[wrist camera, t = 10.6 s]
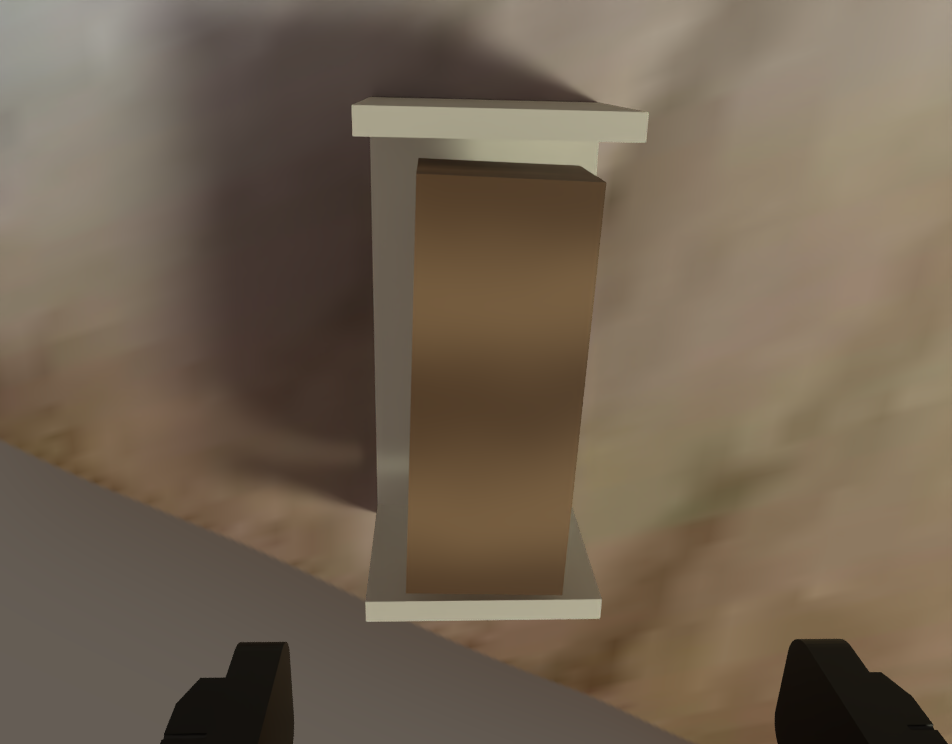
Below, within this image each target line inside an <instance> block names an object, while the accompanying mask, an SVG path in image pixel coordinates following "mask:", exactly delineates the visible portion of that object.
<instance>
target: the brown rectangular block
mask: <svg viewBox="0 0 952 744" xmlns="http://www.w3.org/2000/svg"><path fill="white" fill-rule="evenodd" d="M605 190H606V182H605V181H603V180H602V179H600V178H599V177H597V176H595V175H594V174H592V173H591V172H589V171H588V170H586V169H584V168H583V167H581V166H578V165H557V164H536V163H515V162H494V161H473V160H452V159H431V158H418V165H417V172H416V202H415V243H414V284H413V325H412V365H411V406H410V447H409V488H408V529H407V570H406V593H409V594H499V595H562V593H563V584H564V574H565V565H566V556H567V546H568V537H569V528H570V518H571V509H572V499H573V490H574V481H575V471H576V462H577V452H578V443H579V434H580V424H581V415H582V406H583V396H584V387H585V377H586V368H587V359H588V349H589V340H590V330H591V321H592V312H593V302H594V293H595V284H596V274H597V265H598V255H599V246H600V237H601V227H602V218H603V208H604V199H605Z"/></svg>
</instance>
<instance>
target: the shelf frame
mask: <svg viewBox="0 0 952 744" xmlns="http://www.w3.org/2000/svg"><path fill="white" fill-rule="evenodd" d="M648 117H649V112H645V111H640V110H635V109H630V108H624V107H619V106H614V105H609V104H603V103H597V102H557V101H517V100H477V99H438V98H398V97H369V98H367V99H364V100H362V101H360V102H357V103H355V104H353V105H352V136H361V137H370V161H371V210H372V258H373V307H374V355H375V404H376V452H377V500H378V505H377V514H376V522H375V530H374V538H373V546H372V554H371V562H370V570H369V578H368V586H367V594H366V622H370V621H371V622H376V621H457V620H537V619H600V613H601V602H602V598H601V595H600V592H599V589H598V586H597V583H596V580H595V577H594V573H593V570H592V567H591V564H590V561H589V558H588V555H587V552H586V549H585V546H584V542H583V539H582V536H581V533H580V530H579V527H578V524H577V521H576V518H575V514H574V511H573V508H572V509H571V518H570V528H569V537H568V546H567V556H566V565H565V574H564V584H563V593H562V595H499V594H409V593H406V570H407V529H408V488H409V447H410V406H411V365H412V325H413V284H414V243H415V202H416V172H417V165H418V158H431V159H452V160H473V161H494V162H515V163H536V164H557V165H578V166H581V167H583V168H584V169H586V170H588V171H589V172H591V173H592V174H594V175H595V176H596V173H597V160H598V147H599V142H631V143H646V138H647V127H648Z"/></svg>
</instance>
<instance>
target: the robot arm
mask: <svg viewBox="0 0 952 744" xmlns="http://www.w3.org/2000/svg"><path fill="white" fill-rule="evenodd" d="M291 682H292V681H291V667H290V652H289V646H288V643H287V642H240V643H239V644H238V645H237V647H236V649H235V651H234V654H233V657H232V660H231V664H230V666H229V669H228V673H227V675H226V678H200V679H199V680H198V681H197V682H196V683H195V684H194V685H193V686H192V688H191V689H190V690H189V691H188V692H187V693H186V694H185V695H184V696H183V697H182V698H181V699H180V700H179V701H178V702H177V703H176V705H175V708H174V711H173V713H172V716H171V718H170V720H169V723H168V725H167V728H166V730H165V733H164V739H163V740H161V743H160V744H293V737H294V711H293V698H292V697H293V696H292V683H291ZM775 732H776V738H777V743H778V744H948V743H947V742H946V741H945V740H944V738H943V737H942V736H941V734H940V733H939V732H938V730H934V728H933V724H932V722H931V721H930V720H929V718H928V717H927V716H926V714H925V713H924V712H923V710H922V709H921V708H920V706H919V705H918V704H917V702H916V701H915V700H914V698H913V697H912V696H911V695H910V694H908V693H907V692H906V691H904V690H903V689H902V688H901V687H899V686H898V685H897V684H896V683H894V682H893V681H892V680H890V679H889V678H888V677H887V676H885V675H884V674H883V673H881V672H869V671H868V670H867V668H866V667H865V665H864V664H863V663H862V661H861V660H860V658H859V657H858V656H857V654H856V653H855V651H854V650H853V649H852V647H851V646H850V645H849V643H847V642H846V641H845V640H843V639H796V640H794V641H793V642H792V643H791V645H790V647H789V650H788V655H787V659H786V664H785V669H784V673H783V678H782V683H781V687H780V692H779V697H778V701H777V706H776V711H775Z"/></svg>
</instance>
